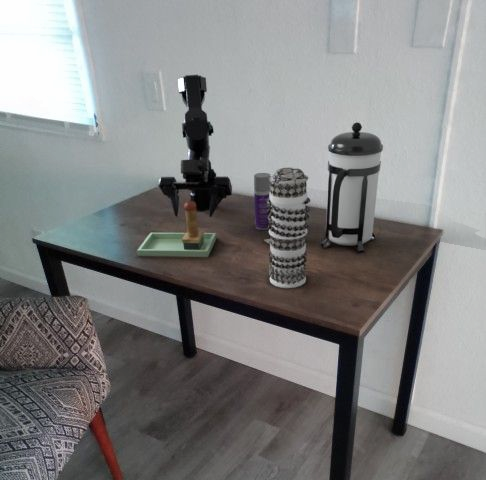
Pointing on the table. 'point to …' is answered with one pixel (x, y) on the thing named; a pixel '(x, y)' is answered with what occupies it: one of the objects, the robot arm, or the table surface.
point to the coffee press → (352, 188)
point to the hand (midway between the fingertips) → (193, 216)
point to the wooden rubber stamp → (192, 228)
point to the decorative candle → (288, 227)
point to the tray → (174, 245)
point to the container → (261, 200)
